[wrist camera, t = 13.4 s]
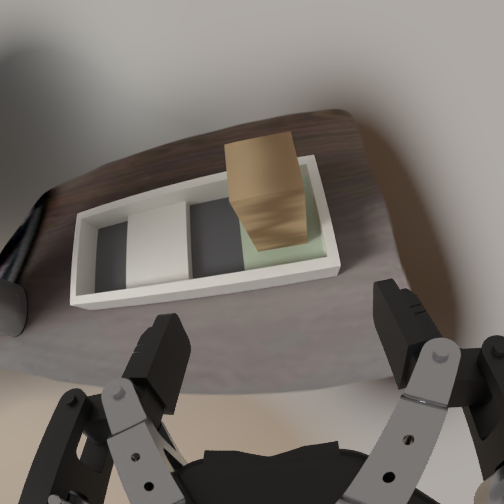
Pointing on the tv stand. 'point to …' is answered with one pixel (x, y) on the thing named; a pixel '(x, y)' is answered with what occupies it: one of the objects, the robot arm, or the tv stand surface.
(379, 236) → the tv stand surface
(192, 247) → the box
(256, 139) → the oak post
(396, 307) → the robot arm
